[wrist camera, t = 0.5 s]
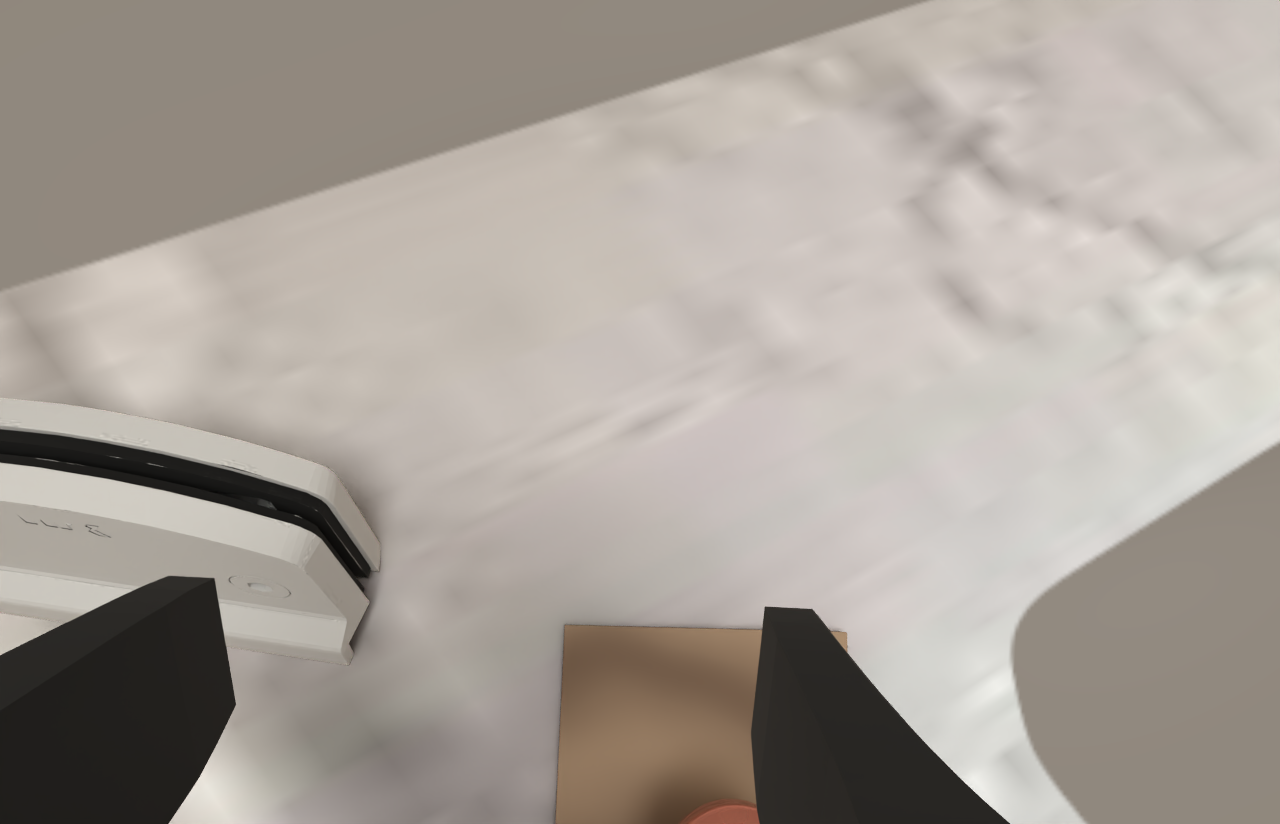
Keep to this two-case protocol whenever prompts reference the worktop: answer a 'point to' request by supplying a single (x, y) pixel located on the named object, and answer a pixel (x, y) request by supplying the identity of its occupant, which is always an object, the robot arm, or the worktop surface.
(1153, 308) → the worktop surface
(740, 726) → the board
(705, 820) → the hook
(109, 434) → the grey rounded block
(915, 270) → the worktop surface
